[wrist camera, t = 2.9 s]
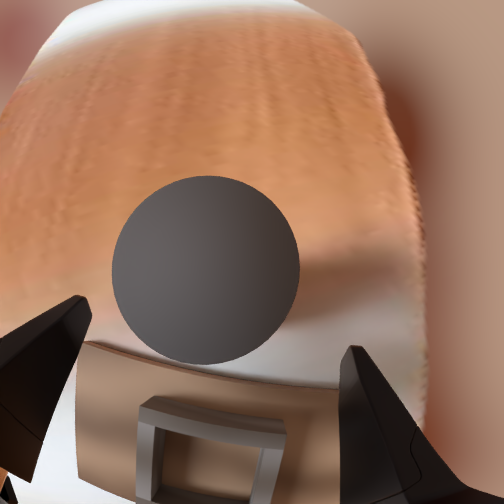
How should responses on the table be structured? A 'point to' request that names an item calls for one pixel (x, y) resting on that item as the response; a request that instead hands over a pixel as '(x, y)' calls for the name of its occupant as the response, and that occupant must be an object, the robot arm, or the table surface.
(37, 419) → the robot arm
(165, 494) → the docking board
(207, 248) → the capped glass jar
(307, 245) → the table surface
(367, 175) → the table surface
